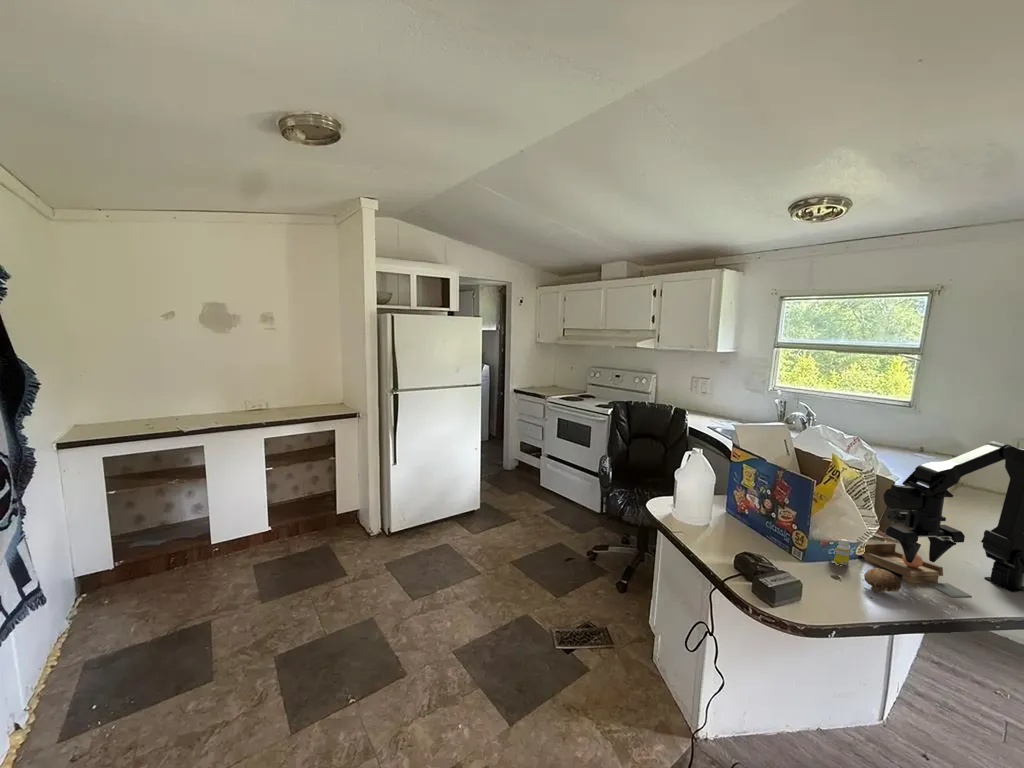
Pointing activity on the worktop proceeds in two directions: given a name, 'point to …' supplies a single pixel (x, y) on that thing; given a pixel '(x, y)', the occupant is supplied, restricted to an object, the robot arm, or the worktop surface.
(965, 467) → the robot arm
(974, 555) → the worktop surface
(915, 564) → the ball
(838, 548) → the supplement bottle
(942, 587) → the coaster
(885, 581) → the mushroom
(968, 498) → the worktop surface
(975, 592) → the worktop surface
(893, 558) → the tray
